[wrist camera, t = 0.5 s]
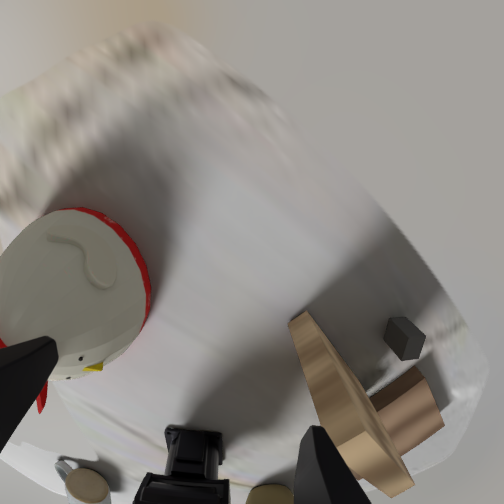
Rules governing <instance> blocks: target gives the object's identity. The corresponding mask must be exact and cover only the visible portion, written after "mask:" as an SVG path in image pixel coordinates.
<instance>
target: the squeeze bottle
mask: <svg viewBox="0 0 504 504" xmlns="http://www.w3.org/2000/svg"><path fill="white" fill-rule="evenodd" d="M245 504H294V496H293V494H292V493H291V491H290V490H289V488H287V487H286V486H283V485H276V484H270V485H263V486H259V487H256V488H254V489H253V490H251V491H250V493H249V495H248V498H247V501H246V503H245Z"/></svg>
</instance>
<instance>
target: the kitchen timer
mask: <svg viewBox="0 0 504 504" xmlns="http://www.w3.org/2000/svg"><path fill="white" fill-rule="evenodd" d="M150 300H151V285H150V280H149V276H148V271H147V267H146V264H145V262H144V260H143V258H142V256H141V254H140V252H139V250H138V248H137V246H136V244H135V242H134V241H133V240H132V239H131V238H130V237H129V235H128V234H127V233H126V232H125V231H124V229H123V228H122V227H121V226H120V225H119V224H117V223H116V222H114V221H113V220H111V219H110V218H108V217H107V216H106V215H104V214H103V213H100V212H97V211H93V210H90V209H87V208H84V207H80V208H65V209H60V210H56V211H54V212H51V213H49V214H47V215H45V216H43V217H41V218H39V219H37V220H35V221H34V222H32V223H31V224H29V225H28V226H27V227H26V228H25V229H24V230H23V231H22V232H21V233H20V234H19V235H18V236H17V237H16V238H15V239H14V240H13V241H12V242H11V244H10V245H9V246H8V247H7V249H6V250H5V251H4V252H3V254H2V255H1V256H0V349H1V348H4V347H8V346H11V345H15V344H18V343H21V342H25V341H28V340H32V339H35V338H38V337H42V336H49V337H51V338H53V339H54V340H55V341H56V344H57V350H58V355H59V359H58V362H57V364H56V366H55V368H54V369H53V371H52V373H51V375H50V376H49V378H48V380H47V382H46V384H45V385H44V387H43V389H42V391H41V392H40V394H39V395H38V397H37V398H36V401H37V407H38V412H39V414H40V413H41V412H42V410H43V408H44V406H45V403H46V398H47V386H48V381H59V380H71V379H77V378H81V377H83V376H86V375H88V374H90V373H92V372H94V371H102V370H103V366H105V365H106V364H108V363H110V362H111V361H113V360H114V359H116V358H118V357H119V356H120V355H122V354H123V353H124V352H125V351H126V349H127V348H128V347H129V346H130V345H131V343H132V342H133V341H134V340H135V339H136V337H137V336H138V335H139V333H140V332H141V330H142V328H143V326H144V324H145V321H146V318H147V316H148V313H149V310H150Z"/></svg>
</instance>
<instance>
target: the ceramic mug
mask: <svg viewBox="0 0 504 504" xmlns="http://www.w3.org/2000/svg"><path fill="white" fill-rule="evenodd" d="M55 469H56V471H57V473H58V475H59V476H60V477H61V479H62V480H63V481H64V483H65V489H66V493H67V498H68V501H69V504H111V497H110V489H109V486H108V484H107V482H106V481H105V479H104V478H103V477H102V476H101V475H100V474H98V473H97V472H95V471H93V470H90V469H86V468H78V469H74V470H73V469H72V468H71V467H70V466H69V465H68V464H67V463H66V462H64V461H62V460H61V461H58V462H57V463H55ZM66 473H67V474H68V475H67V474H66Z"/></svg>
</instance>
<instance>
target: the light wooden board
mask: <svg viewBox="0 0 504 504" xmlns="http://www.w3.org/2000/svg"><path fill="white" fill-rule="evenodd" d="M288 327H289V330H290V333H291V336H292V339H293V342H294V345H295V348H296V351H297V354H298V357H299V360H300V363H301V366H302V369H303V372H304V375H305V378H306V381H307V384H308V387H309V390H310V393H311V396H312V399H313V403H314V406H315V409H316V412H317V415H318V418H319V421H320V424H321V426H322V427H324V428H325V430H326V432H327V433H328V435H329V436H330V438H331V440H332V441H333V443H334V445H335V446H336V448H337V449H338V451H339V453H340V454H341V456H342V457H343V459H344V461H345V462H346V464H347V466H348V467H350V468H351V469H352V470H353V471H355V472H356V473H357V474H359V475H360V476H361V477H363V478H364V479H365V480H367V481H368V482H369V483H371V484H372V485H373V486H375V487H376V488H378V489H379V490H380V491H382V492H383V493H385V494H386V495H387V496H389V497H390V498H393V497H394V496H396V495H398V494H400V493H402V492H404V491H405V490H407V489H409V488H411V487H412V486H414V485H415V484H414V482H413V480H412V478H411V476H410V474H409V472H408V470H407V468H406V466H405V464H404V462H403V460H402V459H401V457H400V455H399V453H398V451H397V449H396V447H395V445H394V443H393V442H392V440H391V438H390V436H389V434H388V432H387V430H386V429H385V427H384V425H383V423H382V421H381V419H380V418H379V416H378V414H377V412H376V410H375V408H374V406H373V404H372V403H371V401H370V399H369V397H368V395H367V394H366V392H365V390H364V389H363V387H362V385H361V383H360V382H359V380H358V379H357V378H356V376H355V375H354V374H353V372H352V371H351V369H350V368H349V367H348V365H347V364H346V363H345V361H344V360H343V359H342V357H341V356H340V355H339V353H338V352H337V351H336V349H335V348H334V346H333V345H332V344H331V342H330V341H329V340H328V338H327V337H326V336H325V334H324V333H323V332H322V330H321V329H320V328H319V326H318V325H317V324H316V322H315V321H314V320H313V318H312V317H311V316H310V314H309V313H308V312H307V311H305V312H304V313H302V314H301V315H299V316H298V317H297V318H295V319H294V320H292V321H291V322H289V323H288Z"/></svg>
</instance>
